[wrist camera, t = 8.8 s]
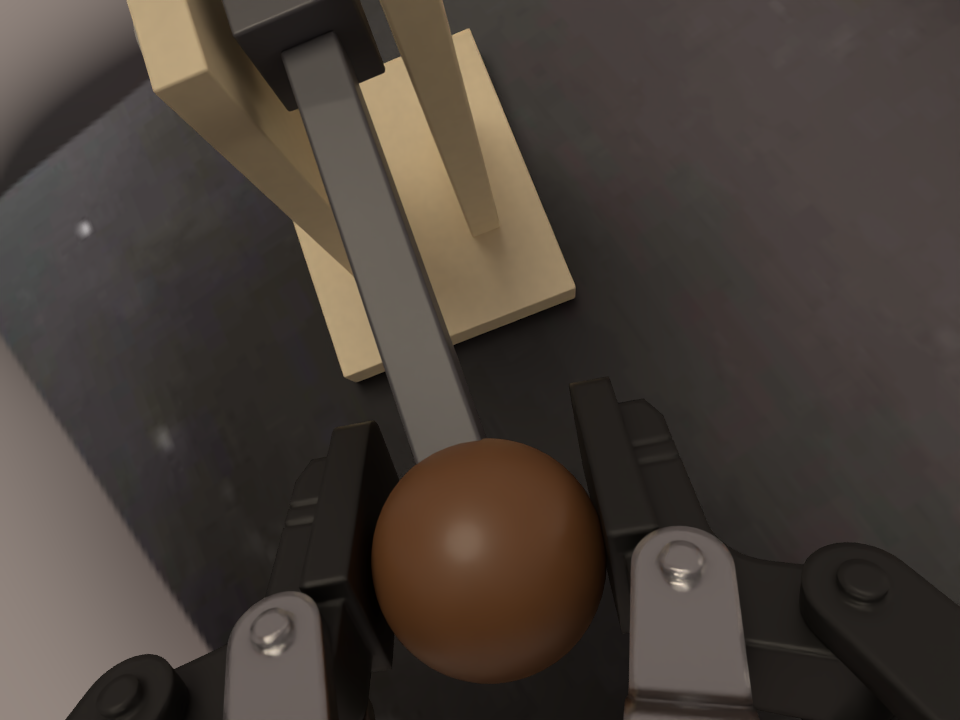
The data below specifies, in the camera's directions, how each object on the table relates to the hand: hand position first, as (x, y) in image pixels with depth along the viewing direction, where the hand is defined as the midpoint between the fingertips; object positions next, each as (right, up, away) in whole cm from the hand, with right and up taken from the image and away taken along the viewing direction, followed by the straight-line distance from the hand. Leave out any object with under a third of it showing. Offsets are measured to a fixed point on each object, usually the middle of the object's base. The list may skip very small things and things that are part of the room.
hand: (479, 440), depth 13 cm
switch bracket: (-2, +7, +11) cm, 13 cm away
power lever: (-1, +3, +1) cm, 3 cm away
